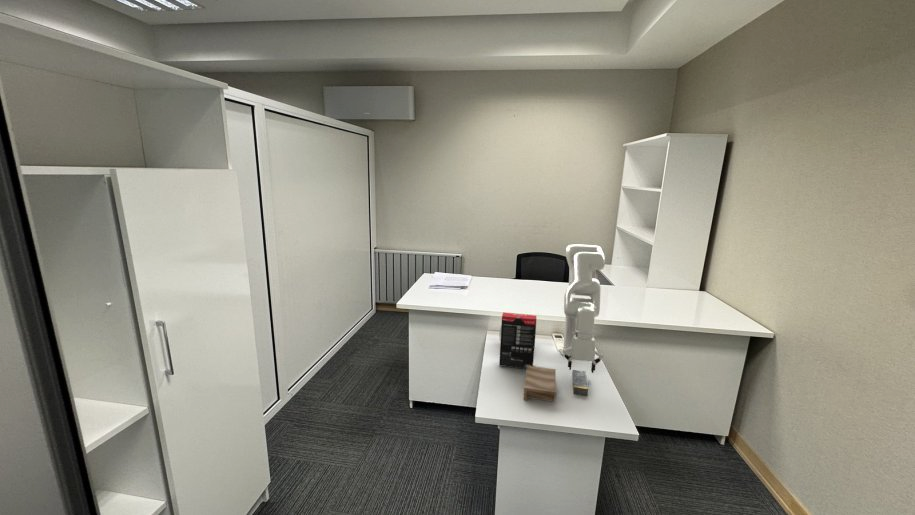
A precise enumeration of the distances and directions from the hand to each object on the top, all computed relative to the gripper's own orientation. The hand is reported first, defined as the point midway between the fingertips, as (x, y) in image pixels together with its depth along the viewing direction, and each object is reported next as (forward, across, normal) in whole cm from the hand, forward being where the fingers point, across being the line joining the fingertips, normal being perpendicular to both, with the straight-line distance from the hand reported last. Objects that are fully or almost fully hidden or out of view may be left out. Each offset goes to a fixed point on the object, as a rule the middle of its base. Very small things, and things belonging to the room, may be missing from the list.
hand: (581, 370), depth 169 cm
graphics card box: (+8, -30, +12) cm, 33 cm away
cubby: (+8, -18, -8) cm, 21 cm away
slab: (+8, 0, +1) cm, 8 cm away
